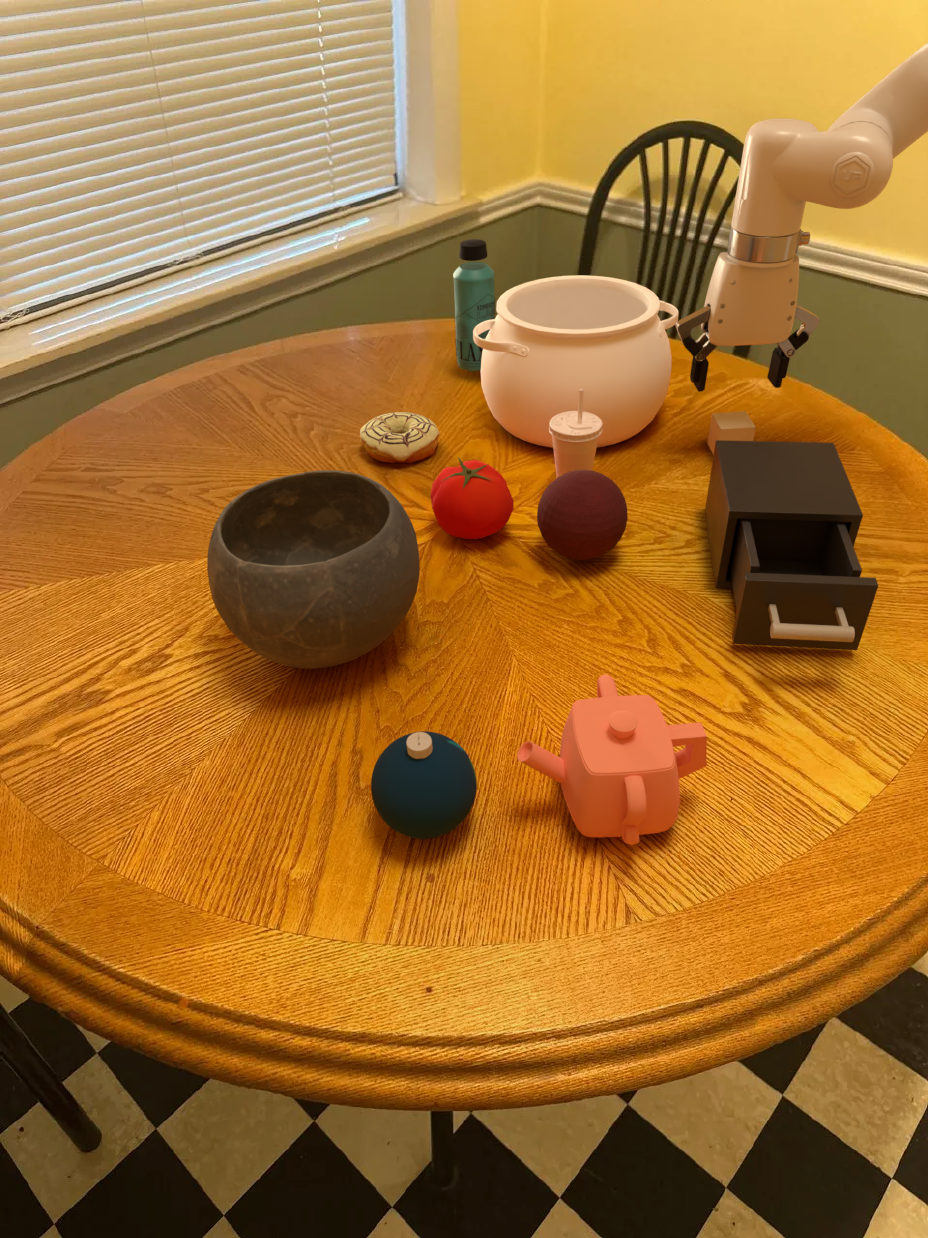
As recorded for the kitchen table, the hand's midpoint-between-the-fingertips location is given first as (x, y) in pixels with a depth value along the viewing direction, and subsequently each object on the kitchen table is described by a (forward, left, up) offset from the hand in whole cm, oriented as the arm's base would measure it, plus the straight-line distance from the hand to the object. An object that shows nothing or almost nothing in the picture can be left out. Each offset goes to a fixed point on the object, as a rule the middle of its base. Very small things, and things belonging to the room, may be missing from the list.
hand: (736, 385), depth 109 cm
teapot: (+26, +56, -10) cm, 62 cm away
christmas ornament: (+41, +57, -10) cm, 71 cm away
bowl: (+51, +33, -10) cm, 61 cm away
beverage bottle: (+32, -30, -10) cm, 45 cm away
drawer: (+4, +36, -8) cm, 37 cm away
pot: (+19, -13, -10) cm, 25 cm away
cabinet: (+2, +23, -9) cm, 25 cm away
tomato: (+35, +15, -10) cm, 39 cm away
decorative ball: (+23, +21, -10) cm, 32 cm away
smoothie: (+22, +8, -10) cm, 25 cm away
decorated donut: (+44, -6, -10) cm, 45 cm away
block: (0, 0, -9) cm, 9 cm away
